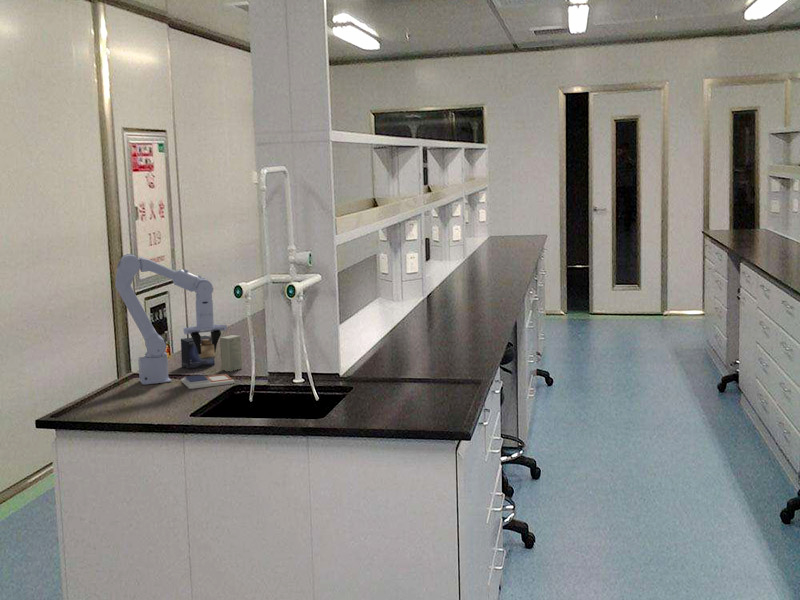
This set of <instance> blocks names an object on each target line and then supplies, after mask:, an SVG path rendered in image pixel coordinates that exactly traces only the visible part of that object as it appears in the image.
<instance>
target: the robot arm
mask: <svg viewBox="0 0 800 600" xmlns="http://www.w3.org/2000/svg"><path fill="white" fill-rule="evenodd" d="M139 271H140V272H141V273H146V272H152V273H154V274H157V275H159V276H162V277H164V278H167V279H170V280H171V281H172V283H173V285H175V286H177V287H180V288H181V289H184V290H186V291H189V292H190V293H191V292H195V316H196V319H195V320H196V321H195V322H196V326H190V327H184V328H183V334H184V335H188V334H190V338H193V340H194V343H195V345H196V348H197V352H198V354H201V346H200V339H201V336H202V335H200V334H201V333H210V337H211V339H212V344H213V345H214V352H215V353H216V352H217V351H216V350H217V346H218V342H219V341H220V337H221V335H222V332H223V331H228V325H227V324H225V323H224V324H214V323H215V322H214V305H213V304H214V303H213V302H214V301H213V295H212V294H213V292H214V287H213V284H212V282H211V281H209V280H208V279H206V278H205V277H202V276H201V275H196V274H193V273H191V272H189V270H188V269H187V268H184V269H182V268H181V269H178V270H174V269H172V268H170V267H167V266H165V265H163V264H160V263H158V262H156V261H154V260H151V259H149V258H146V257H143V256H139V255H138V256H136V255H135V254H134V253H133V254H132V253H126V254H124V255H122V257H121V258H120V260H119V261H118V263H117V265H116V273H115V274H116V275H115V284H114V285H115V289H116V291H117V292H118V294H119V296H120V298H121V300H122V301H123V302H124V305H125V306H126V309H127V310H128V312H129V314H130V316H131V317H132V319H133V321H134V322H135V324H136V327H137V328H138V330H139V332H140V335H141V336H142V338H143V339H144V341H145V342H144V345H145V347H146V351H147V352H146V353H145V354H144V356H140V357H138V360H137V361H138V364H137V365H138V376H139V378H138V379H139V382H140V383H141V385H143V386H145V385H153V384H159V383H160V384H163V383H170V382H172V381H173V380H172V379H171V378H170V377H169V363H168V362H169V361H168V353H167V352H166V351H167V344H166V342H165V339H164V337H162V335H161V334H159V333H158V332H157V331H156V329H155V327H154V325H153V324H152V322H151V320H150V318H149V316H148V315H147V313H146V311H145V309H144V307H143V305H142V304H141V302H140V300H139V298H138V296H137V295H136V293H135V291H134V289H133V287H132V283H133V280H134V277H135V276H136V275H137V274H138V272H139ZM221 331H222V332H221Z"/></svg>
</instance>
